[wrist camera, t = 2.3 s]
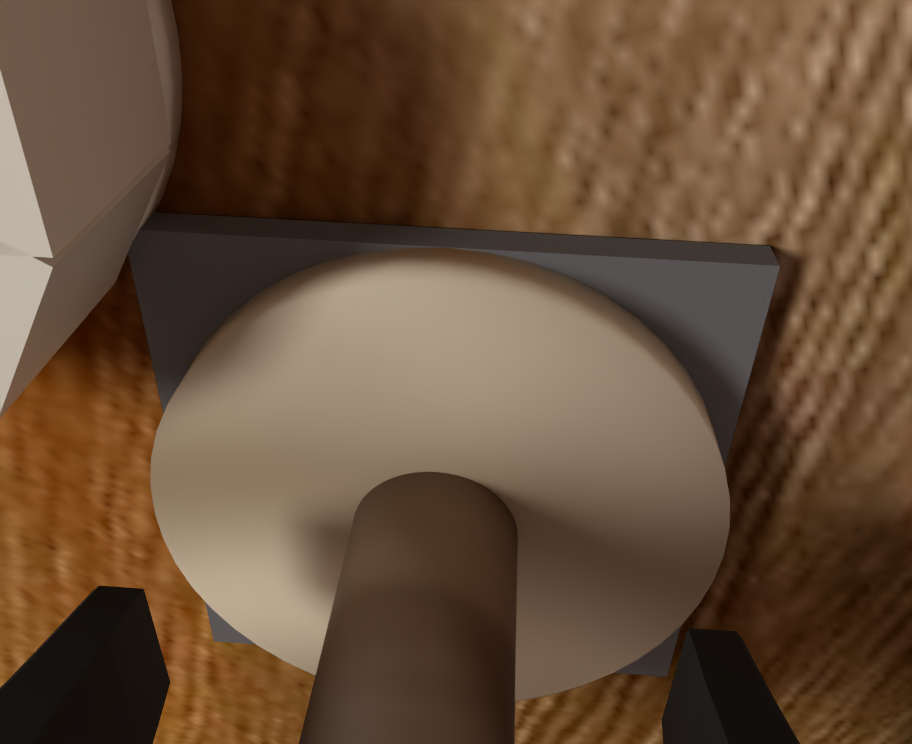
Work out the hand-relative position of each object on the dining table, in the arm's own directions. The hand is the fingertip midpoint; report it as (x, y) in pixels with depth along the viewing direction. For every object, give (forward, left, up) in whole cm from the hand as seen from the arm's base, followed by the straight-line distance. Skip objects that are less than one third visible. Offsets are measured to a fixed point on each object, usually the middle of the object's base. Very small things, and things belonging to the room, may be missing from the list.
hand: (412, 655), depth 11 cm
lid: (0, 0, -3) cm, 3 cm away
